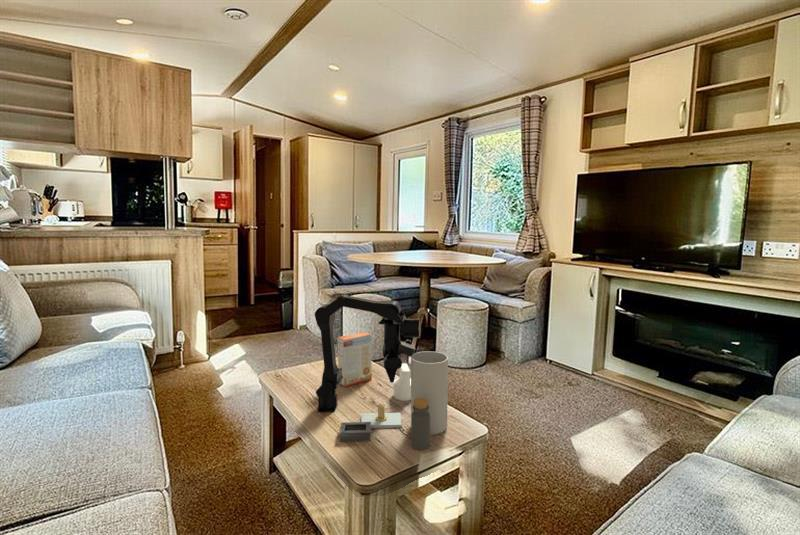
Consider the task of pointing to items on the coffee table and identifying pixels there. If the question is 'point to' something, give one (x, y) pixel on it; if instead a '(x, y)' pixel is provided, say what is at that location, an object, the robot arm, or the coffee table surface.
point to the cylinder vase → (431, 386)
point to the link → (355, 431)
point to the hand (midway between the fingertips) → (391, 377)
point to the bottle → (420, 425)
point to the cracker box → (355, 358)
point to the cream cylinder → (403, 384)
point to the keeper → (382, 418)
